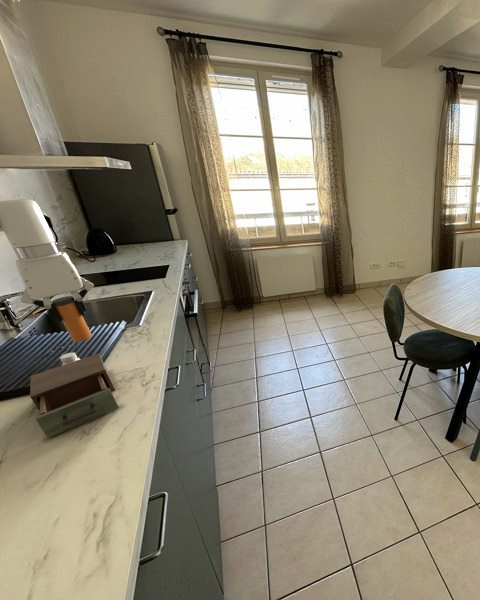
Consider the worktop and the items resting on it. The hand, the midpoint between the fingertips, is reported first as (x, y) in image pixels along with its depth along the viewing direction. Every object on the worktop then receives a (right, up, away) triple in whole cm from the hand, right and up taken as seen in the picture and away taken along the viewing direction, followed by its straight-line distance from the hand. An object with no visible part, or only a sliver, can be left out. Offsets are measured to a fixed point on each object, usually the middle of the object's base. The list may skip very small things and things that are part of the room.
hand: (71, 316), depth 88 cm
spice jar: (0, -6, +3) cm, 7 cm away
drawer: (+8, -25, -5) cm, 27 cm away
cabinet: (-2, -23, +5) cm, 23 cm away
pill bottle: (-11, -20, +13) cm, 26 cm away
